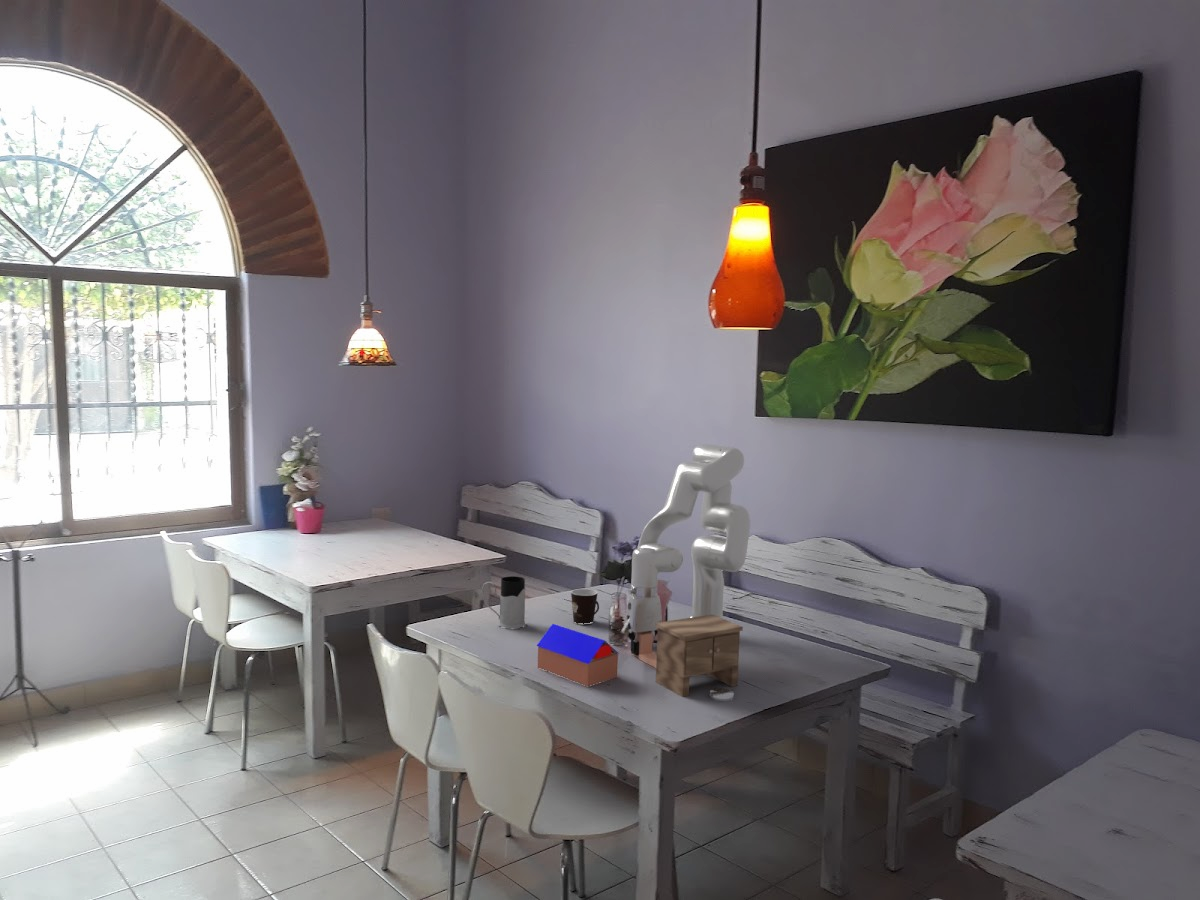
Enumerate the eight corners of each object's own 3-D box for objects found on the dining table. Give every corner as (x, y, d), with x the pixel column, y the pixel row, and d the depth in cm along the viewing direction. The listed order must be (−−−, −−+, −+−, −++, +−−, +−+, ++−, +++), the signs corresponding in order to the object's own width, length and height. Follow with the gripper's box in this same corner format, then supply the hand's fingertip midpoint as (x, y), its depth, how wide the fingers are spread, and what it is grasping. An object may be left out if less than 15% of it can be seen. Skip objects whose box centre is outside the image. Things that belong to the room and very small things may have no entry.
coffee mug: (568, 618, 298) (569, 589, 297) (594, 618, 300) (595, 588, 299) (573, 629, 287) (574, 598, 286) (600, 628, 288) (601, 597, 287)
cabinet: (653, 681, 241) (655, 622, 240) (709, 670, 251) (711, 614, 250) (683, 698, 230) (686, 637, 228) (741, 686, 240) (744, 627, 238)
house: (567, 659, 258) (568, 619, 257) (618, 678, 244) (620, 635, 243) (535, 669, 249) (536, 627, 248) (587, 688, 235) (588, 645, 234)
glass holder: (523, 629, 285) (525, 582, 283) (479, 627, 285) (479, 581, 284) (527, 621, 293) (528, 576, 292) (483, 620, 294) (484, 574, 292)
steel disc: (704, 697, 232) (705, 691, 231) (719, 692, 236) (719, 686, 236) (723, 704, 227) (724, 698, 227) (738, 698, 232) (738, 693, 232)
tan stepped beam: (629, 654, 264) (630, 630, 263) (643, 651, 266) (644, 628, 265) (672, 677, 245) (674, 651, 245) (687, 674, 248) (688, 649, 247)
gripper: (626, 597, 253) (624, 661, 255) (675, 591, 262) (672, 652, 264) (612, 591, 260) (610, 653, 261) (660, 585, 268) (657, 645, 270)
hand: (641, 652), depth 263 cm, fingers closed on tan stepped beam, 4 cm apart
